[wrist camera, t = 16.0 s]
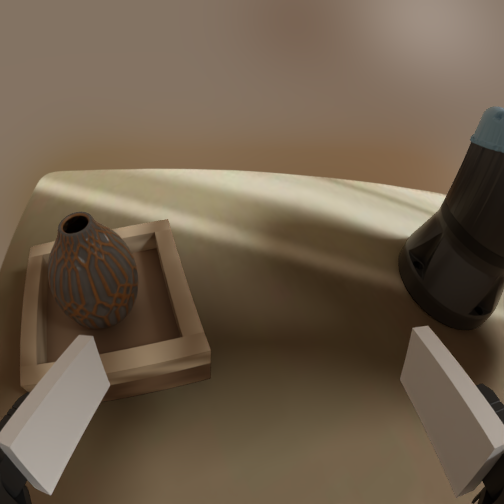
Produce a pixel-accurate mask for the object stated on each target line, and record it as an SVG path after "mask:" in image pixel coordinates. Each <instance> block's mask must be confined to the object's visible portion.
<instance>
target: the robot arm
mask: <svg viewBox="0 0 504 504" xmlns="http://www.w3.org/2000/svg"><path fill="white" fill-rule="evenodd" d="M470 140H471V144H470V146H469V149H468V151H467V154H466V156H465V158H464V161H463V163H462V165H461V167H460V169H459V171H458V173H457V175H456V178H455V179H454V182H453V184H452V186H451V188H450V190H449V192H448V194H447V195H446V198H445V200H444V202H443V204H442V205H441V207H440V209H439V210H438V211H437V212H436V213H435V214H434V215H433V216H432V217H431V218H430V219H429V220H427V221H426V222H425V223H424V224H423V225H422V226H421V227H420V228H418V229H417V230H416V231H415V232H414V233H413V234H412V235H411V236H410V237H409V238H408V240H407V242H406V243H405V245H404V247H403V249H402V250H401V253H400V255H399V270H400V274H401V277H402V280H403V282H404V284H405V286H406V288H407V290H408V291H409V293H410V294H411V296H412V297H413V298H414V300H415V301H416V302H417V303H418V304H419V305H420V306H421V307H422V308H423V309H424V310H425V311H426V312H427V313H428V314H429V315H431V316H432V317H433V318H435V319H436V320H438V321H439V322H441V323H443V324H445V325H447V326H450V327H452V328H456V329H461V330H471V329H475V328H477V327H479V326H481V325H482V324H483V323H484V322H485V321H486V320H487V319H488V318H489V317H490V315H491V314H492V313H493V312H494V310H495V309H496V306H497V304H498V302H499V299H500V297H501V295H502V292H503V290H504V108H501V107H490V108H488V109H487V110H486V111H485V112H484V114H483V116H482V118H481V120H480V122H479V125H478V127H477V129H476V131H475V134H473V135H472V136H471V139H470ZM400 381H401V383H402V385H403V387H404V389H405V391H406V393H407V394H408V396H409V398H410V400H411V402H412V404H413V406H414V408H415V410H416V412H417V414H418V416H419V418H420V420H421V422H422V424H423V426H424V428H425V430H426V432H427V435H428V437H429V439H430V441H431V443H432V445H433V447H434V449H435V451H436V454H437V456H438V458H439V460H440V462H441V465H442V467H443V469H444V471H445V473H446V476H447V478H448V480H449V483H450V485H451V487H452V490H453V492H454V494H455V497H456V498H457V497H459V496H461V495H464V494H466V493H468V492H471V491H473V490H474V489H475V488H476V487H477V486H478V485H479V484H480V483H481V481H483V483H484V485H485V487H484V488H483V489H482V490H481V491H480V492H479V494H478V495H477V496H476V497H475V498H474V499H473V501H472V503H473V504H474V503H475V502H476V501H477V500H478V499H479V501H478V504H504V405H503V404H502V402H500V400H499V398H498V397H497V396H496V394H495V393H494V392H493V390H491V389H490V388H488V387H487V386H485V385H484V384H479V385H475V384H474V383H473V381H472V380H471V379H470V377H469V376H468V375H467V373H466V372H465V371H464V370H463V368H462V367H461V366H460V364H459V363H458V362H457V361H456V359H455V358H454V357H453V356H452V354H451V353H450V352H449V351H448V349H447V348H446V347H445V346H444V344H443V343H442V342H441V341H440V339H439V338H438V337H437V336H436V335H435V333H434V332H433V331H432V330H431V329H430V327H429V326H422V327H415V328H412V332H411V337H410V341H409V345H408V350H407V354H406V358H405V362H404V366H403V370H402V373H401V377H400ZM109 387H110V383H109V381H108V378H107V375H106V373H105V370H104V367H103V364H102V361H101V359H100V356H99V353H98V350H97V347H96V344H95V341H94V338H93V336H86V335H78V336H77V338H76V339H75V340H74V341H73V342H72V343H71V344H70V346H69V347H68V348H67V349H66V350H65V351H64V353H63V354H62V355H61V356H60V357H59V358H58V360H57V361H56V362H55V363H54V364H53V366H52V367H51V368H50V369H49V370H48V372H47V373H46V374H45V375H44V376H43V378H42V379H41V380H40V381H39V382H38V384H37V385H36V386H35V387H34V389H33V390H32V391H31V392H29V391H28V392H27V393H26V394H24V395H23V396H21V397H20V398H19V399H18V400H17V401H16V402H15V404H14V405H13V406H12V409H10V410H9V411H8V412H7V415H5V416H4V418H3V419H2V420H1V422H0V504H32V503H31V499H30V495H29V491H28V489H27V487H26V486H25V483H26V481H27V480H28V481H29V482H30V483H31V484H32V485H33V487H34V488H35V489H37V490H40V491H42V492H44V493H46V494H49V495H52V493H53V491H54V489H55V487H56V485H57V483H58V481H59V479H60V477H61V475H62V473H63V471H64V469H65V467H66V465H67V463H68V461H69V459H70V457H71V455H72V453H73V452H74V450H75V448H76V446H77V444H78V442H79V440H80V438H81V437H82V435H83V433H84V431H85V429H86V427H87V426H88V424H89V422H90V420H91V418H92V417H93V415H94V413H95V411H96V409H97V408H98V406H99V404H100V402H101V401H102V399H103V397H104V395H105V394H106V392H107V390H108V388H109Z"/></svg>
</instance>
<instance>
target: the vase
mask: <svg viewBox="0 0 504 504" xmlns="http://www.w3.org/2000/svg"><path fill="white" fill-rule="evenodd" d="M48 280H49V285H50V289H51V292H52V295H53V297H54V299H55V301H56V302H57V304H58V306H59V307H60V308H61V310H62V311H63V312H64V313H65V314H66V315H67V316H68V317H69V318H70V319H71V320H73V321H74V322H76V323H77V324H79V325H82V326H84V327H87V328H92V329H101V328H107V327H110V326H113V325H115V324H117V323H118V322H120V321H121V320H122V319H124V318H125V317H126V316H127V315H128V314H129V312H130V311H131V309H132V307H133V305H134V303H135V301H136V297H137V293H138V284H139V281H138V272H137V266H136V263H135V259H134V257H133V255H132V253H131V251H130V249H129V247H128V246H127V244H126V243H125V242H124V240H123V239H122V238H121V237H120V236H119V235H118V234H117V233H116V232H114V231H113V230H111V229H110V228H108V227H106V226H104V225H102V224H100V223H98V222H97V221H95V220H94V218H93V217H92V216H91V215H90V214H88V213H86V212H76V213H72V214H70V215H68V216H66V217H65V218H64V219H63V220H62V221H61V222H60V224H59V227H58V235H57V239H56V241H55V243H54V245H53V248H52V250H51V253H50V256H49V260H48Z"/></svg>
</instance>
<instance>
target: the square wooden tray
mask: <svg viewBox="0 0 504 504" xmlns="http://www.w3.org/2000/svg"><path fill="white" fill-rule="evenodd" d="M112 230H113V231H114V232H116V233H117V234H118V235H119V236H120V237H121V238H122V239H123V240H124V242H125V243H126V244H127V246H128V247H129V249H130V251H131V253H132V255H133V257H134V259H135V263H136V266H137V272H138V281H139V284H138V293H137V297H136V301H135V303H134V305H133V307H132V309H131V311H130V312H129V314H128V315H127V316H126V317H125V318H124V319H122V320H121V321H120V322H118V323H117V324H115V325H113V326H110V327H107V328H101V329H92V328H87V327H84V326H82V325H79V324H77V323H76V322H74V321H73V320H71V319H70V318H69V317H68V316H67V315H66V314H65V313H64V312H63V311H62V310H61V308H60V307H59V306H58V304H57V302H56V301H55V299H54V297H53V295H52V292H51V289H50V285H49V280H48V260H49V256H50V253H51V250H52V248H53V245H54V243H55V241H54V242H49V243H45V244H40V245H36V246H32V247H31V249H30V254H29V260H28V267H27V273H26V281H25V289H24V297H23V308H22V321H21V339H20V386H21V387H22V388H24V389H25V390H26V391H27V392H28V391H29V392H31V391H32V390H33V389H34V387H35V386H36V385H37V384H38V382H39V381H40V380H41V379H42V378H43V376H44V375H45V374H46V373H47V372H48V370H49V369H50V368H51V367H52V366H53V364H54V363H55V362H56V361H57V360H58V358H59V357H60V356H61V355H62V354H63V353H64V351H65V350H66V349H67V348H68V347H69V346H70V344H71V343H72V342H73V341H74V340H75V339H76V338H77V336H78V335H86V336H93V338H94V341H95V344H96V347H97V350H98V353H99V356H100V359H101V361H102V364H103V367H104V370H105V373H106V375H107V378H108V381H109V383H110V387H109V388H108V390H107V392H106V394H105V395H104V397H103V399H102V401H101V402H104V401H110V400H116V399H121V398H127V397H132V396H137V395H142V394H147V393H152V392H156V391H161V390H165V389H170V388H174V387H178V386H182V385H186V384H190V383H194V382H198V381H202V380H206V379H210V378H211V349H210V347H209V344H208V341H207V338H206V336H205V333H204V330H203V327H202V324H201V322H200V319H199V316H198V313H197V310H196V307H195V304H194V301H193V298H192V295H191V292H190V289H189V286H188V283H187V280H186V277H185V274H184V271H183V267H182V264H181V261H180V258H179V255H178V251H177V248H176V245H175V241H174V238H173V235H172V231H171V228H170V224H169V221H168V219H166V220H160V221H155V222H149V223H144V224H138V225H133V226H127V227H122V228H117V229H112Z"/></svg>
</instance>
